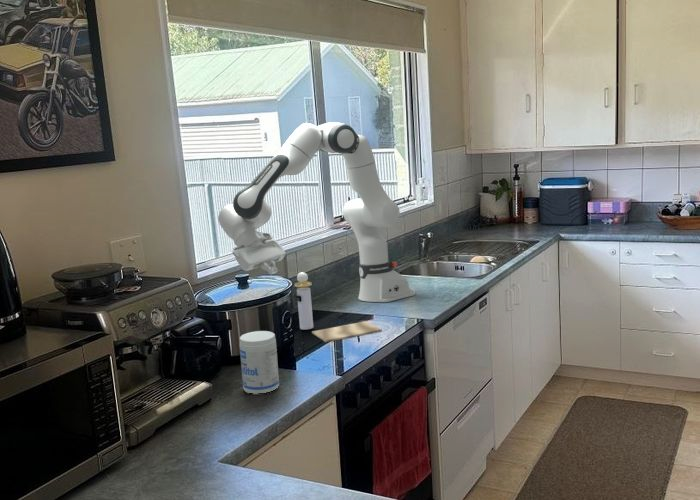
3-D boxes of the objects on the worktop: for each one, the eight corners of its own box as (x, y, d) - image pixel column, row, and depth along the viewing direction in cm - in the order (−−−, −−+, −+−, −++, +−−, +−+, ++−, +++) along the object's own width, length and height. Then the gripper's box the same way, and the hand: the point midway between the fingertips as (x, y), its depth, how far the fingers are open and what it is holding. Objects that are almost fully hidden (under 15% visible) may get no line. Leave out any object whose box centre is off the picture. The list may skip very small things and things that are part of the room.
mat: (366, 322, 238) (366, 321, 238) (381, 331, 227) (381, 329, 227) (312, 333, 231) (311, 331, 230) (325, 342, 220) (325, 340, 220)
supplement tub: (236, 393, 182) (231, 340, 179) (255, 380, 190) (250, 329, 188) (268, 397, 178) (263, 342, 175) (286, 384, 186) (281, 331, 184)
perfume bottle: (311, 326, 239) (306, 269, 235) (318, 329, 234) (313, 272, 230) (295, 329, 236) (290, 272, 233) (302, 333, 231) (297, 274, 228)
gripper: (234, 242, 232) (258, 273, 228) (273, 232, 249) (297, 260, 245) (225, 255, 236) (249, 285, 232) (265, 244, 252) (288, 272, 248)
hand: (274, 272), depth 239 cm, fingers closed
